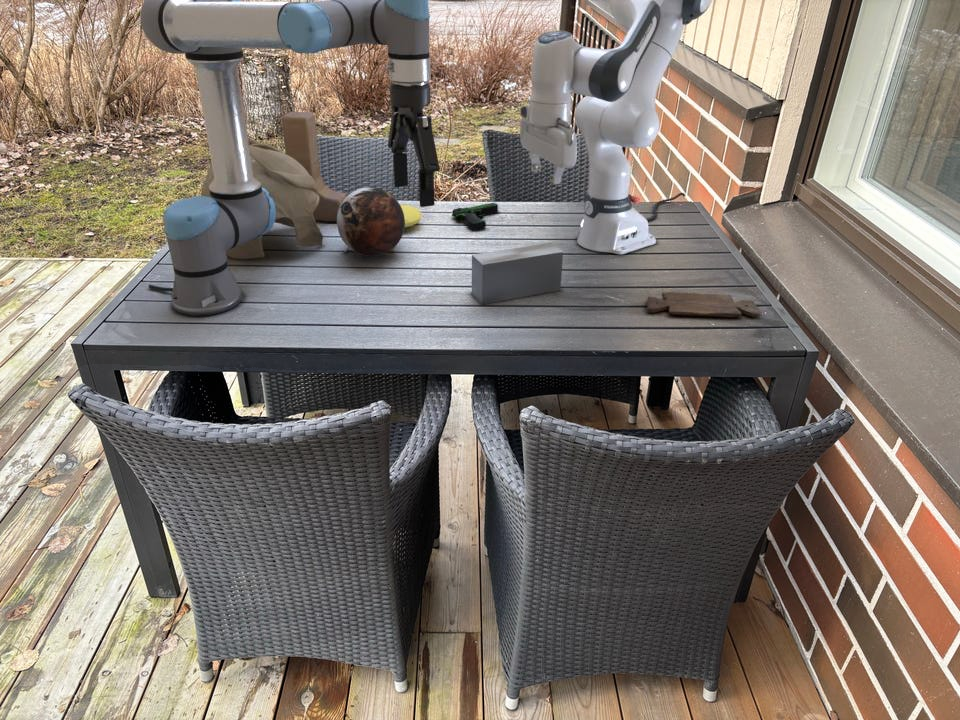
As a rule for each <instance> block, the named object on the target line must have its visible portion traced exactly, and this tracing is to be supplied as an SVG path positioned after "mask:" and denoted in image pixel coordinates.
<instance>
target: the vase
mask: <svg viewBox="0 0 960 720" xmlns="http://www.w3.org/2000/svg"><path fill="white" fill-rule="evenodd" d="M400 206H401V208H402V210H403V213H404V218H405V228H404V229H407V228H410V227H412V226H413V225H416V224H418V223H419V222H420V221H421V219H422V217H423V215H422V212H421V211H420V210H419V209H418V208H417V207H414V206H411V205H407V204H400Z"/></svg>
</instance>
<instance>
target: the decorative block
mask: <svg viewBox="0 0 960 720" xmlns="http://www.w3.org/2000/svg"><path fill="white" fill-rule="evenodd" d="M280 119H281V125H282V133H283V134H282V135H283V143H284V151H285V154H286V155H288V156H290V157H292V158H293V159H295V160H296V161H297V162H299V163H300V164H301V165H302V166H303V167H304V168H305V169H306V171H307V172H308V173H309V175H310V176H312V178H313V179H314V182H315V185H316V188H317V193H318V195H319V198H320V200H319V204H318V206H317V208H316V209H315V210H314V212H313V216H314V219H315V221H316V222H317V221H319V222H333V223H337V214H338V210H339V208H340V205H341V204H342V202H343V201H344V199H345V198H346V197H347V196H348V195H347V193H346V192H342V191H339V190H338V191H337V190H333V189H331V187H329V186H327V185H326V183H325V181H324V179H323V177H322V175H321V166H320V165H321V163H320V155H319V143H318V136H317V124H316V116H315V113H314V112H311V111H290V112H287V113H286V114H284V115H283V116H281V118H280Z"/></svg>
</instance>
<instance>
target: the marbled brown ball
mask: <svg viewBox="0 0 960 720" xmlns="http://www.w3.org/2000/svg"><path fill="white" fill-rule="evenodd" d="M400 205H401V204H400V203H399V201H398V200H397V198H395V197H394V196H393V195H392V191H390V192H388V191H386V190H384V189H381V188H380V187H379V188H378V187H371V186H370V187H362V188H358V189H356V190H354V191H352V192H350V193H349V194H348V195H347V197H346V198H345V199H344V201H343V202H342V204H341V205H340V208H339V210H338V214H337V222H336V227H337V231H338V234H339V237H340V238H341V240H342V241H343V244H345V246H347V247H346V248H345V249H344V252H343V253H346V252H348V251H349V249H350V250H352V251H353V252H355V253H356V254H359V255H362V256H364V257H365V256H366V257H378V256H383V255H385V254H387V253H389V252H391V251H392V250H393V249H394V248H395V247H396V246H397V245H398V244H399V242H400V241H401V240H402V238H403V235H404V232H405V229H406V228H405V218H404V213H403V210H402V208H401V206H400Z"/></svg>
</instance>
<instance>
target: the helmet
mask: <svg viewBox="0 0 960 720" xmlns="http://www.w3.org/2000/svg"><path fill="white" fill-rule="evenodd" d="M248 142H249V149H250V156H251V163H252V170H253V176H254V177H255V178H256V179H257V180H259V181H260V182H261V186H262V187H263V188H264V189H265V190H267V191H268V193H269V194H270V195H269V197H270V198H272V199H273V201H274V204H275V210H276V216H275V221H274V223H277V224H279V225H283V226H286V227H290V228H294V232H295V246H296V247H299V248H313V247H317V246H318V247H323V241H324V235H323V233H322V231H321V230H320V228H319V225H318V223H317V221H316V220H315V219H314V216H313V212H314V210H315V209H316V208H317V206H318V204H319V200H320V198H319V195H318V193H317V188H316V185H315V182H314V179H313V178H312V176H310V175H309V173H308V172H307V171H306V169H305V168H304V167H303V166H302V165H301V164H300V163H299V162H297V161H296V160H295V159H293V158H292V157H290V156H288V155H286V153H285V152H283V151H281V150H280V149H278V148H276V147H274V146H272V145H269V144H266V143H261V142H259V141H257V140H255V139H252V138H250V137H248ZM213 180H214V173H213V167H212V164H210V166H209V168H208V170H207V173H206V176H205V178H204V179H203V181H202V186H201V192H200V196H206V197H210V191H209V185H210V184H211V183H212V182H213ZM210 198H211V197H210ZM262 236H263V235H261V236H260V237H259V238H257V239H253V240H250V241H248V242H246V243H243V244H241V245H239V246H236V247H234V248H232V249H229V250H227V251H226V255H227V257H229V258H231V259H236V260H237V259H239V260H244V259H256V258H257V259H258V258H265V257H266V255H265V253H264V248H263V244H262V242H263V241H262Z"/></svg>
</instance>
